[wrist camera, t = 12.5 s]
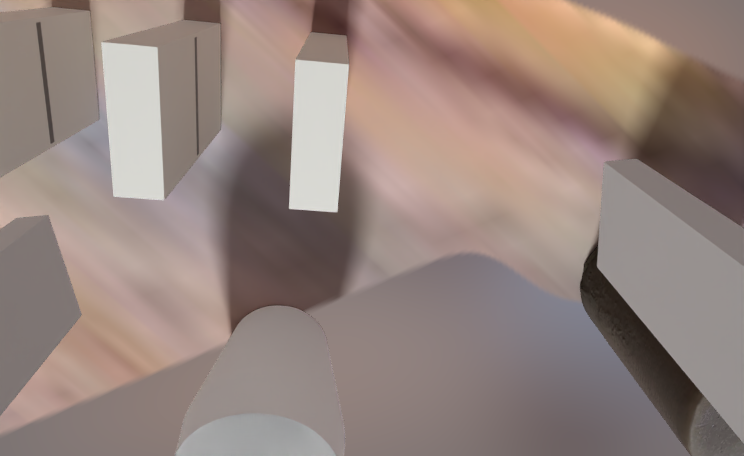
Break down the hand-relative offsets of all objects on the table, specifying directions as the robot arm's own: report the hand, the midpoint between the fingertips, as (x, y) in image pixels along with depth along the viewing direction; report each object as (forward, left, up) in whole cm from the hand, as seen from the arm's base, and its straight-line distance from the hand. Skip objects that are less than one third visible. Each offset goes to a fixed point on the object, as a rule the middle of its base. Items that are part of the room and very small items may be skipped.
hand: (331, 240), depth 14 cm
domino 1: (-15, 0, -22) cm, 26 cm away
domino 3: (-1, 0, -22) cm, 22 cm away
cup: (-3, -18, -22) cm, 29 cm away
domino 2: (-8, 0, -22) cm, 23 cm away
